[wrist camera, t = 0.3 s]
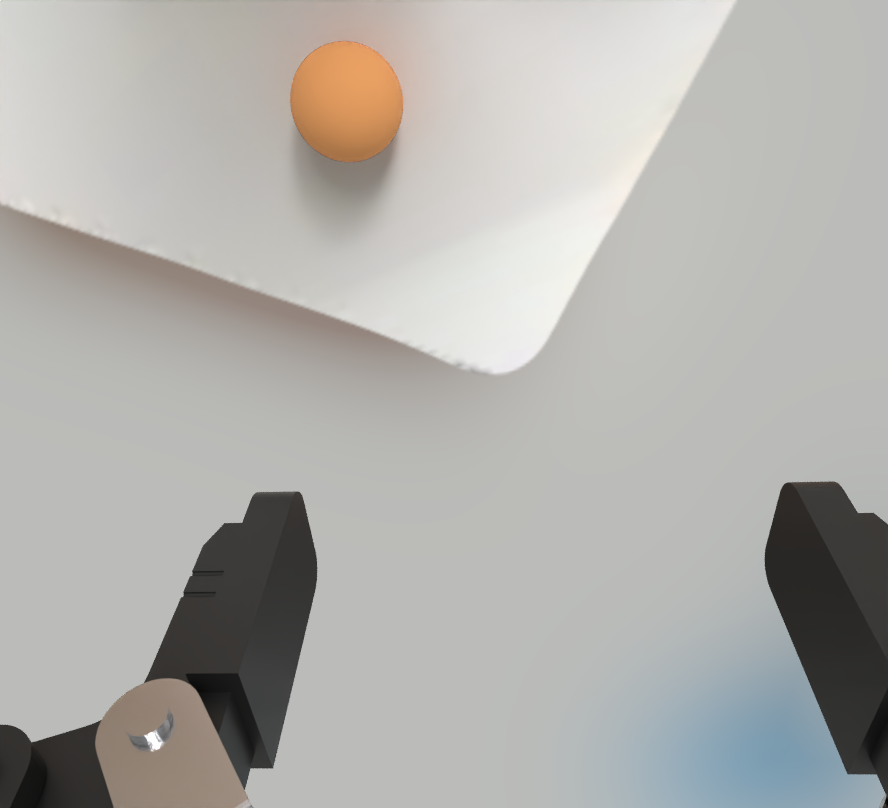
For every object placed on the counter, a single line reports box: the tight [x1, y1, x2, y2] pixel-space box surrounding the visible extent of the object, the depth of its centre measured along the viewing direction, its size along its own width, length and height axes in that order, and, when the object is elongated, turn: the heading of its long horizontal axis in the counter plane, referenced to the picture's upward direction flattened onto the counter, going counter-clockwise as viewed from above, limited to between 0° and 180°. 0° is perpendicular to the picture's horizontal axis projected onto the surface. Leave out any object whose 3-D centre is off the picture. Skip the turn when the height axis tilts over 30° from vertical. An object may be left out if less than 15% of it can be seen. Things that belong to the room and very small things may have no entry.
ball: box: [290, 41, 403, 162], centre depth 33 cm, size 5×5×5 cm
